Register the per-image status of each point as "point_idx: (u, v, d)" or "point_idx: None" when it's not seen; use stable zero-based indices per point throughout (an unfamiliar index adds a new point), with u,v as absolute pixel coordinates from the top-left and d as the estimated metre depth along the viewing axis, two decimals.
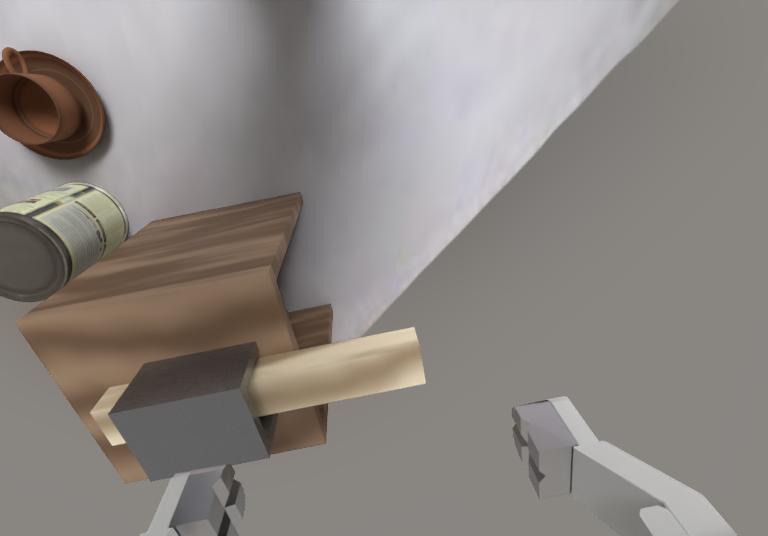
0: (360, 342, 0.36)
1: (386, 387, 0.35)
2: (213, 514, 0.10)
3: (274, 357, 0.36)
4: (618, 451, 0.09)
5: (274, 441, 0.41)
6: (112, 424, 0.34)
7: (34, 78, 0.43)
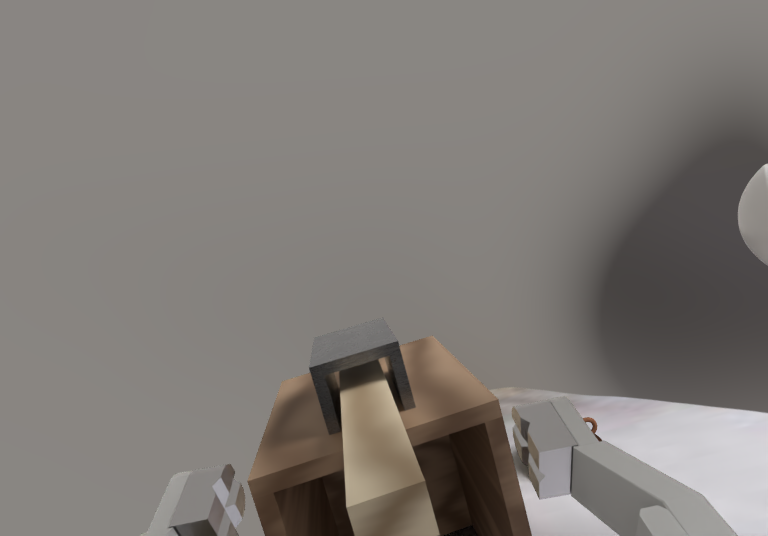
0: None
1: (350, 464, 0.23)
2: (213, 514, 0.10)
3: None
4: (618, 451, 0.09)
5: (278, 441, 0.35)
6: None
7: None
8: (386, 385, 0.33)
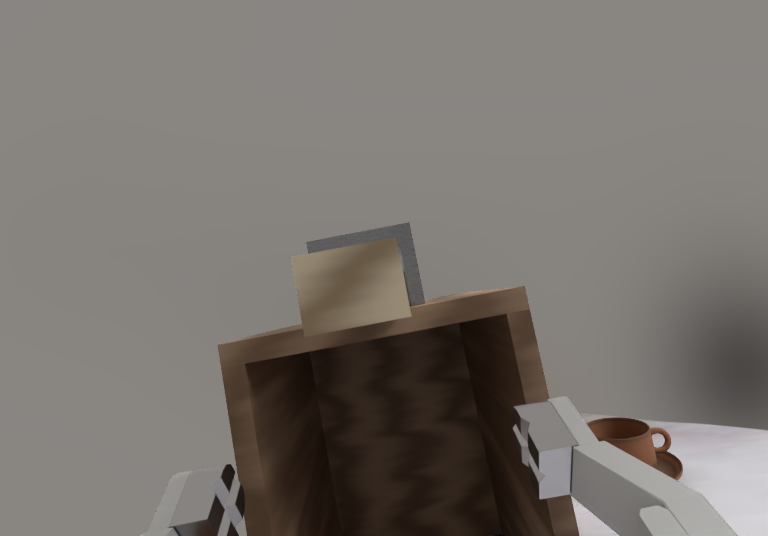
0: None
1: None
2: (213, 514, 0.10)
3: None
4: (618, 451, 0.09)
5: (266, 333, 0.31)
6: None
7: (650, 435, 0.47)
8: None
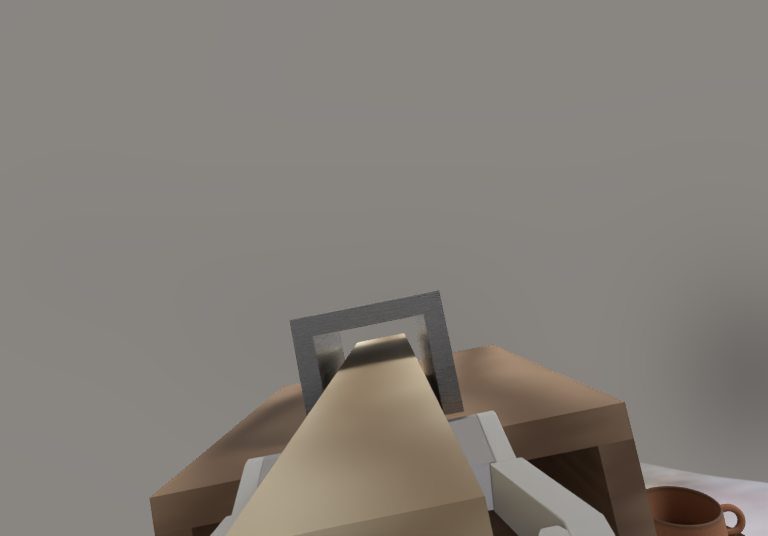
0: None
1: (295, 453, 0.09)
2: None
3: None
4: (532, 468, 0.09)
5: (234, 446, 0.21)
6: (384, 338, 0.33)
7: (723, 518, 0.38)
8: (414, 360, 0.19)
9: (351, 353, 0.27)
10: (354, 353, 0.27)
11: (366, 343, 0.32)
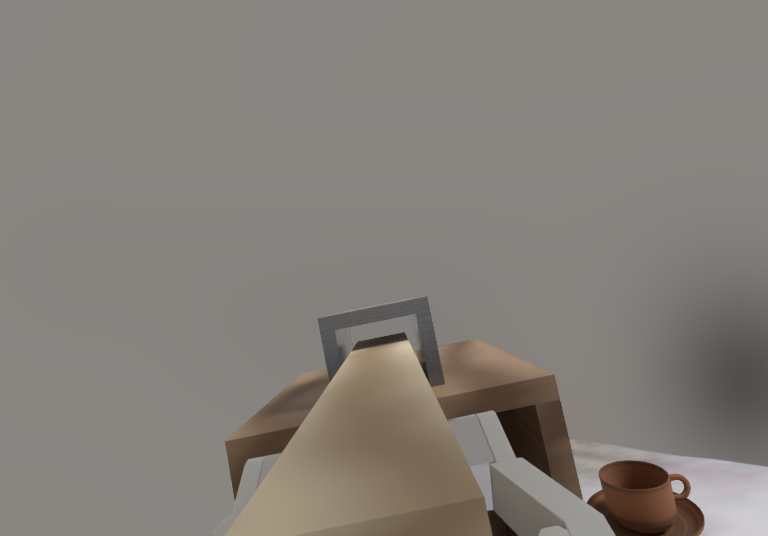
0: None
1: (295, 453, 0.09)
2: None
3: None
4: (532, 468, 0.09)
5: (275, 412, 0.29)
6: (384, 337, 0.33)
7: (670, 484, 0.46)
8: (414, 360, 0.19)
9: (351, 352, 0.27)
10: (354, 352, 0.27)
11: (366, 342, 0.32)
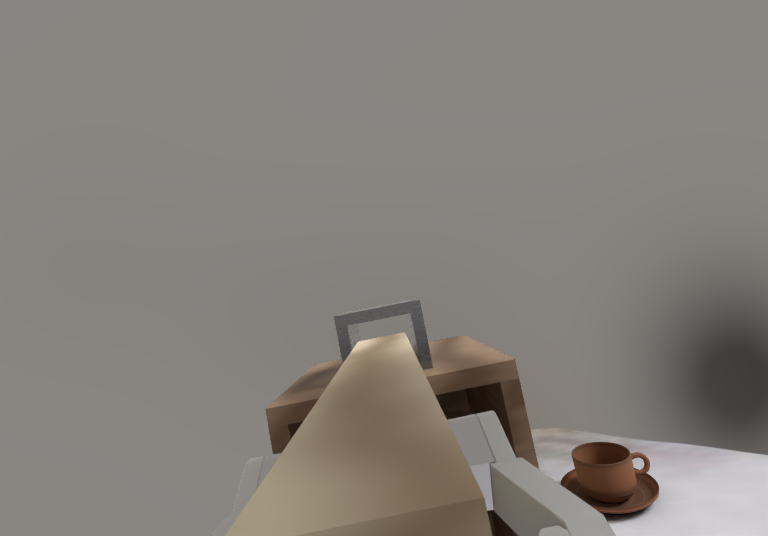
0: None
1: (295, 453, 0.09)
2: None
3: None
4: (532, 468, 0.09)
5: (300, 390, 0.36)
6: (384, 337, 0.33)
7: (631, 460, 0.53)
8: (414, 360, 0.19)
9: (351, 352, 0.27)
10: (354, 352, 0.27)
11: (367, 342, 0.32)
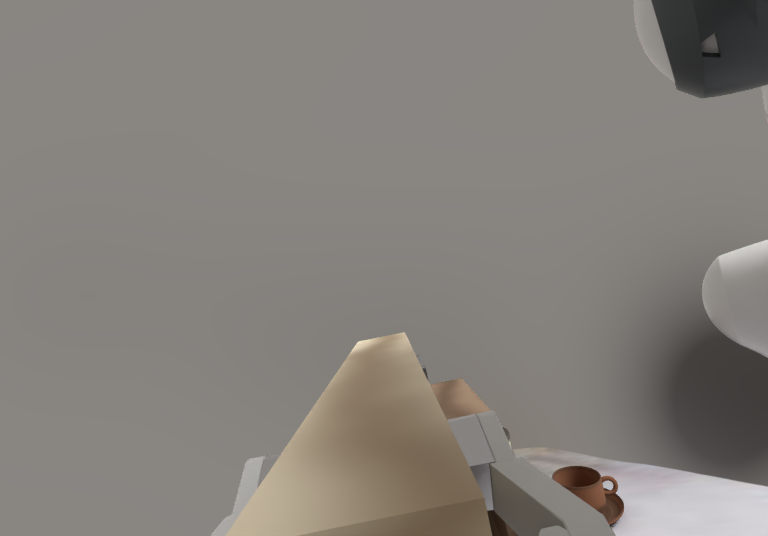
0: None
1: (295, 453, 0.09)
2: None
3: None
4: (532, 469, 0.09)
5: None
6: (384, 337, 0.33)
7: (601, 483, 0.63)
8: (414, 360, 0.19)
9: (352, 352, 0.27)
10: (355, 352, 0.27)
11: (367, 342, 0.32)
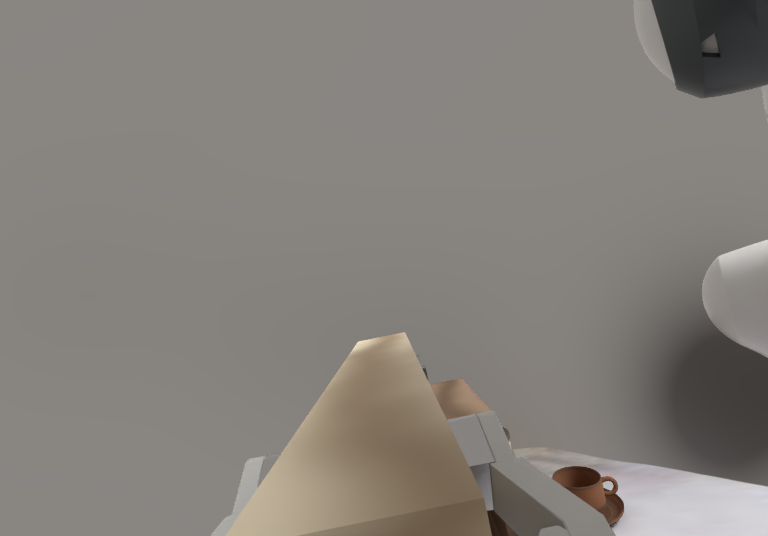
0: None
1: (295, 453, 0.09)
2: None
3: None
4: (532, 469, 0.09)
5: None
6: (384, 337, 0.33)
7: (601, 484, 0.63)
8: (414, 360, 0.19)
9: (352, 352, 0.27)
10: (355, 352, 0.27)
11: (367, 342, 0.32)
